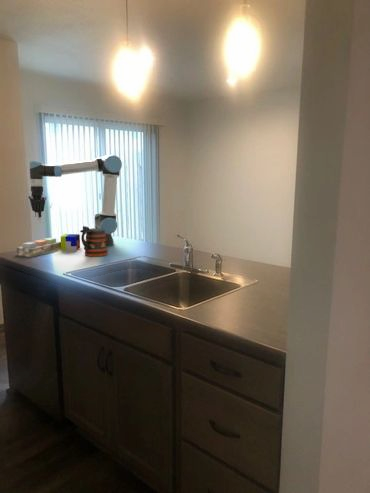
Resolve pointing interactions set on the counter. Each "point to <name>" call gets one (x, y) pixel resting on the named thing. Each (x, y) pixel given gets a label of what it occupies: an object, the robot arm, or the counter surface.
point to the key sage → (50, 240)
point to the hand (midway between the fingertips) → (38, 222)
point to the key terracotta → (40, 242)
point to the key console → (38, 249)
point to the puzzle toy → (70, 242)
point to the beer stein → (94, 242)
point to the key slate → (29, 245)
